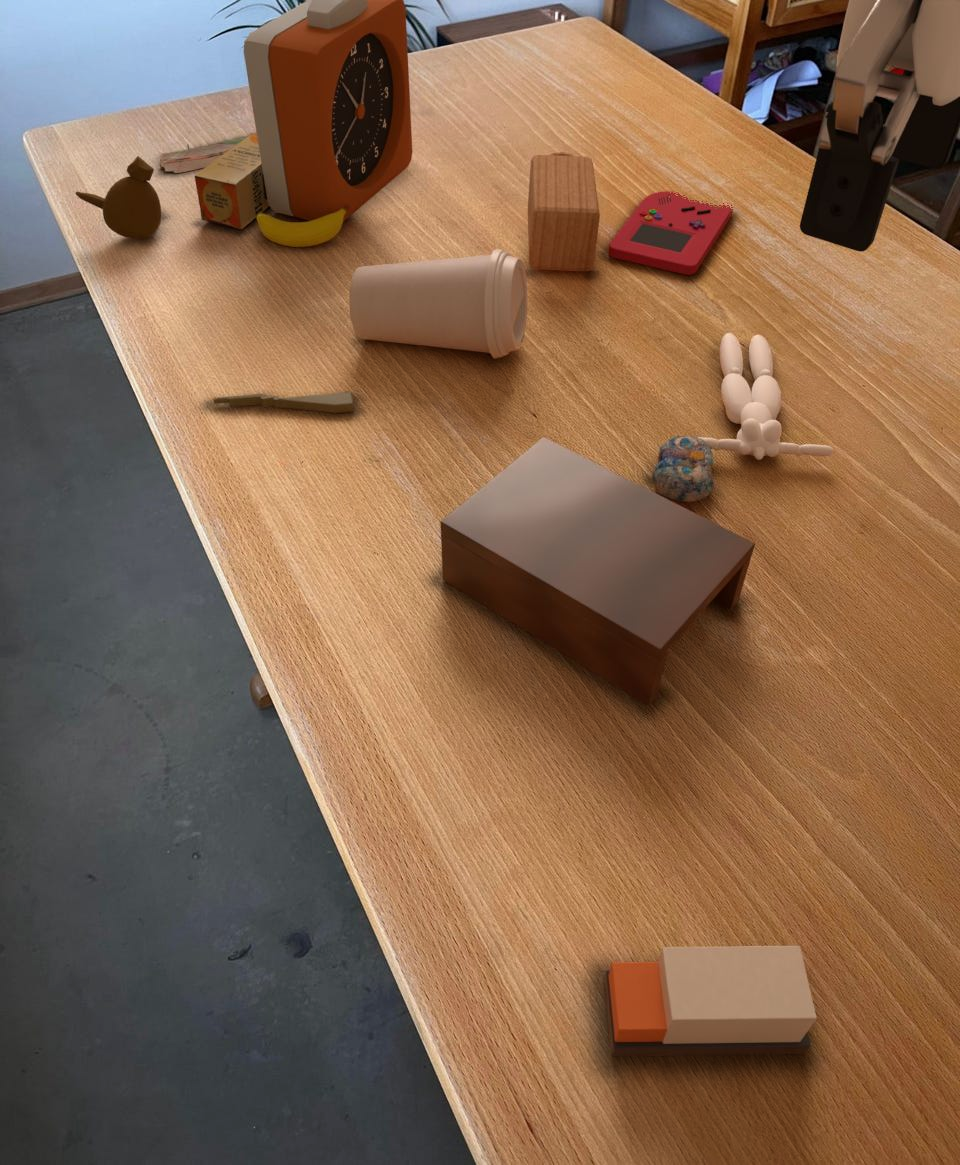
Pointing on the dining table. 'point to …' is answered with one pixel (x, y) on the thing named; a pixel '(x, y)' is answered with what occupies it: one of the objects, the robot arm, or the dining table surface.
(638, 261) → the handheld gaming console
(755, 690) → the dining table surface
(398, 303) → the coffee cup
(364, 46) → the alarm clock
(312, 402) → the olive tapered flat bar
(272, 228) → the fruit
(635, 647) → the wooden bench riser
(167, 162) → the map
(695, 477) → the decorative stone
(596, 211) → the decorative item
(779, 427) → the decorative figure
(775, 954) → the tricolour layered block
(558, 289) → the dining table surface
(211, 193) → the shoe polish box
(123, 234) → the figurine
